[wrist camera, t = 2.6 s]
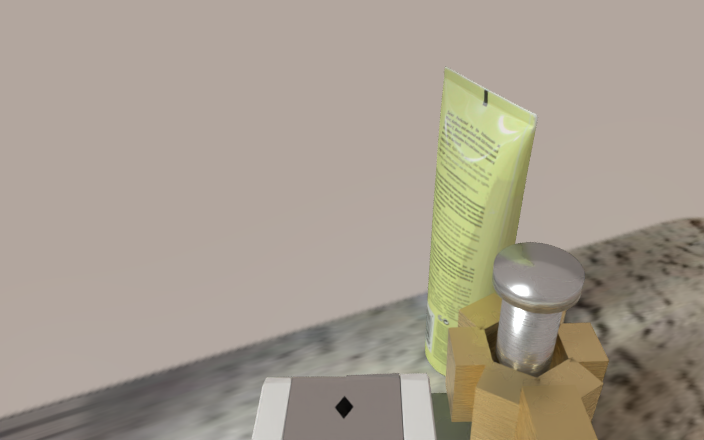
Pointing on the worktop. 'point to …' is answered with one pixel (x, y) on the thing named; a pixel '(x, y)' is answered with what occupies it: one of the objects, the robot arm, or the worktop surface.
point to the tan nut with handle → (522, 381)
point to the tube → (472, 200)
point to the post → (523, 316)
